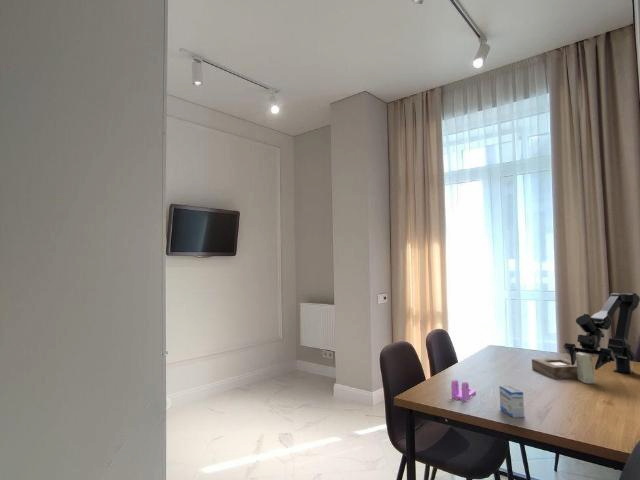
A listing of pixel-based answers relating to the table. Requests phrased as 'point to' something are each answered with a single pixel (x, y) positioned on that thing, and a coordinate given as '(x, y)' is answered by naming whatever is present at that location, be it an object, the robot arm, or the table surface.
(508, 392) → the medicine box
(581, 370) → the skincare box
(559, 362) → the white square tile
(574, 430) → the table surface
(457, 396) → the bracket
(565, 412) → the table surface
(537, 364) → the holder
